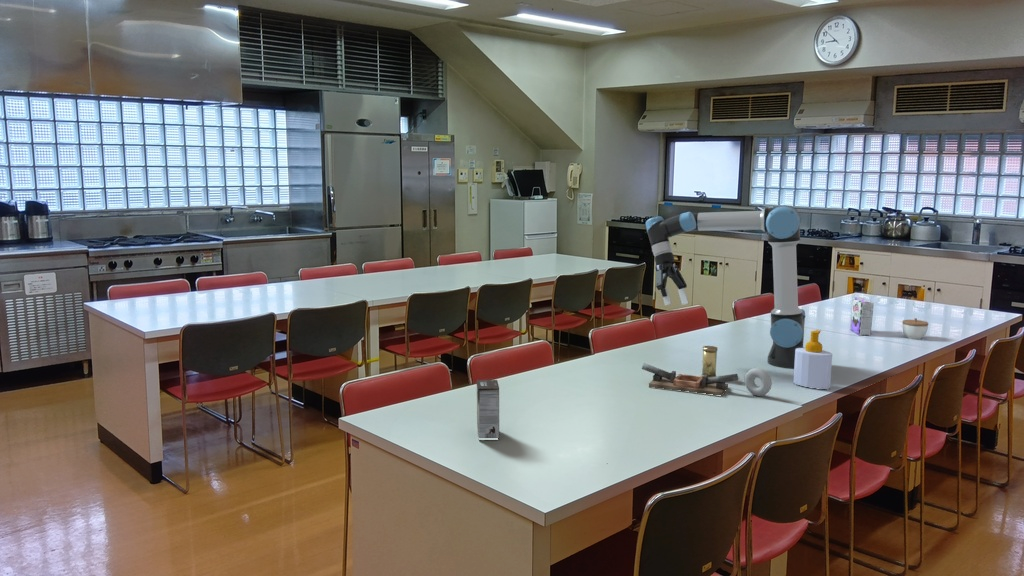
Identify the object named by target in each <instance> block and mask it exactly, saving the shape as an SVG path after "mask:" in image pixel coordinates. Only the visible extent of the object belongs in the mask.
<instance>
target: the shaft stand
mask: <svg viewBox="0 0 1024 576" xmlns="http://www.w3.org/2000/svg"><path fill="white" fill-rule="evenodd" d="M641 369H642V370H644V371H647V372H649V373H652V374H653V375H652V380H651V381H650V382H649V383H648V388H650V387H655V388H654V389H658V388H664V389H663V390H665V389H672V390H671V391H673V390H681V391H689V392H697V393H706V394H713V395H721V396H722V397H723V395H724V394H725V393H726V391H727V390H728V389H729V383H730V382H736V381H737V382H738V381H739V374H738V373H733V374H726V375H725V374H724V375H716V377H709V378H708V375H704V376H703V377H702V375H701V376H700V375H693V374H684V373H679V374H677V371H676V370H672V371H670V372H669V371H666V370H664V369H661V368H659V367H656V366H654V365H650V364H648V363H645V362H643V365H642V367H641ZM728 382H729V383H728ZM727 388H728V389H727ZM726 389H727V390H726ZM725 390H726V391H725ZM681 391H680V392H681ZM724 392H725V393H724ZM723 393H724V394H723ZM722 394H723V395H722Z"/></svg>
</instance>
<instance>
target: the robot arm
mask: <svg viewBox="0 0 1024 576" xmlns="http://www.w3.org/2000/svg"><path fill="white" fill-rule="evenodd" d="M645 227H646V234H647V235H648V239H649V243H650V246H651V252H652V254H653V256H654V262H655V287H656V288H657V290H658V291H660V293H661V296H662V300H663V301H662V302H663V304H664V306H669V305H671V304H673V303H672V301H671V296H670V293H669V289H668V287H667V284H668V283H667V282H668V278H669V279H671V281H673V283H674V284H675V286H676V288H677V292H678V294H679V295H678V296H679V299H680V303H681V306H684V305H688V304H689V299H688V295H687V292H686V288H687V282H686V281H685V280H684V277H683V275H682V274H681V271H680V270H679V267H678V265H677V264H676V265H673V263H674V262H675V256H674V254H673V252H672V251H673V250H672V246H671V244H670V238H672V237H674V236H675V237H676V236H678V235H681V234H684V233H687V232H701V231H703V232H704V231H706V232H707V231H709V232H711V231H752V230H753V231H754V230H755V231H760V230H761V231H763V232H764V233H767V243H768V244H769V245H770V246H771V248H772V249H771V250H772V270H773V271H772V273H773V275H772V276H773V298H774V306H773V307H774V308H773V309H772V310H771V311H770V330H769V335H770V337H771V340H772V345H771V348H770V350H769V352H768V355H767V363H768V365H769V364H770V365H772V366H776V367H780V368H787V367H792V368H791V369H794V364H795V350H796V348H805V347H804V340H805V339H804V337H805V323H806V322H805V321H806V320H805V319H806V311H805V310H804V309H802V308H800V307H799V299H798V296H799V293H798V292H799V291H798V269H797V267H798V266H797V265H798V264H797V263H798V262H797V245H798V244H799V242H800V241H801V214H800V213H799V211H798V210H797V209H796V208H795V207H793V206H791V205H786V204H785V205H780V206H776V207H774V206H773V207H764V208H763V209H762V210H744V211H716V212H715V211H714V212H711V211H709V212H691V211H687V212H683V213H681V214H677V215H674V216H671V217H668V218H666V219H664V218H663V217H662V216H659V215H657V216H654V217H651V218H649V219H647V220H646V221H645Z"/></svg>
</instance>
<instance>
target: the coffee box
mask: <svg viewBox="0 0 1024 576" xmlns="http://www.w3.org/2000/svg"><path fill="white" fill-rule="evenodd" d="M476 424H477V425H476V426H477V437H479V438H499V439H500V385H499V383H498V380H497V379H477V380H476Z"/></svg>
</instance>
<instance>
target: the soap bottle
mask: <svg viewBox="0 0 1024 576" xmlns="http://www.w3.org/2000/svg"><path fill="white" fill-rule="evenodd" d="M820 333H821V330H818V329H816V330H811V331H810V340H809V341H808V342H806V344H805V347H804V348H796V350H795V364H794V368H793V384H794V383H795V384H794V385H796V384H798V385H801V386H806V387H812V388H819V389H827V390H830V389H831V380H832V365H833V353H832V352H830V351H827V350H825V349H824V350H823V345H822V343H821V342H820V341H819V335H820ZM798 385H797V386H798ZM801 386H800V387H801ZM829 388H830V389H829Z"/></svg>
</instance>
